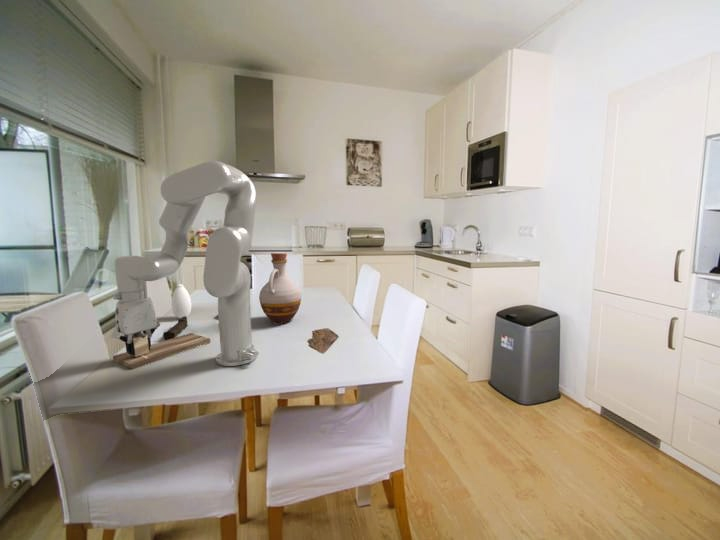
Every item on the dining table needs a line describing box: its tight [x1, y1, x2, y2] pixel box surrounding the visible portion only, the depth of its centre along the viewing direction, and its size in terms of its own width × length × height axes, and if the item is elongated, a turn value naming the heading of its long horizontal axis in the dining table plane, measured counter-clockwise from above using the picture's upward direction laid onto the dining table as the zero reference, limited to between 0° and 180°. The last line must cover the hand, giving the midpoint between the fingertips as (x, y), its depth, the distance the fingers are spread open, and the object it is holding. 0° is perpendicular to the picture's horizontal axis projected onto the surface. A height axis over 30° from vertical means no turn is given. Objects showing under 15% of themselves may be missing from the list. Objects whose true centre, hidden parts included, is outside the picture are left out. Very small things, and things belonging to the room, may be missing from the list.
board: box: [112, 332, 211, 370], centre depth 116 cm, size 12×26×2 cm, turn 148°
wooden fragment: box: [307, 327, 340, 355], centre depth 126 cm, size 26×11×1 cm, turn 0°
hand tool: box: [162, 316, 188, 341], centre depth 135 cm, size 19×4×5 cm, turn 6°
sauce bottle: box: [171, 278, 192, 319], centre depth 152 cm, size 8×8×18 cm
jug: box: [258, 252, 302, 325], centre depth 146 cm, size 20×18×30 cm
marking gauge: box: [132, 332, 149, 357], centre depth 108 cm, size 8×4×7 cm, turn 58°
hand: (139, 351), depth 109 cm, fingers closed on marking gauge, 3 cm apart
